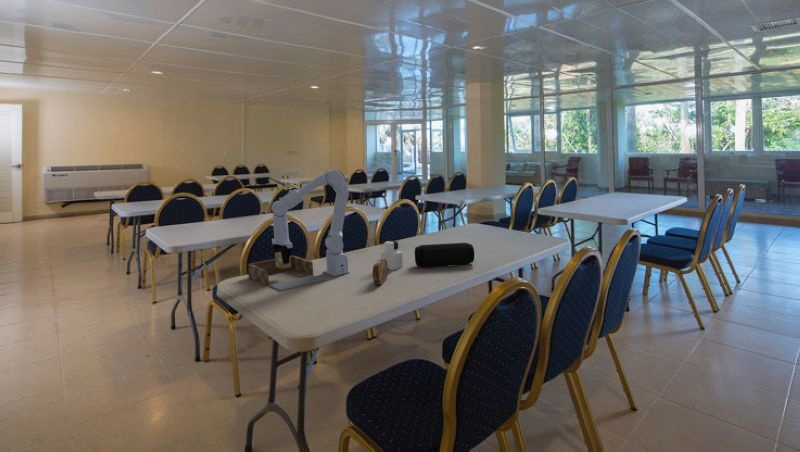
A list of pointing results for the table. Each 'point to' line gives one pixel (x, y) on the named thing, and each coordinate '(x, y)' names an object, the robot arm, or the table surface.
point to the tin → (380, 272)
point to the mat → (296, 283)
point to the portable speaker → (444, 254)
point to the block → (281, 261)
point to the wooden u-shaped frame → (277, 269)
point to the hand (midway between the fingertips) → (283, 262)
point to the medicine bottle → (392, 255)
